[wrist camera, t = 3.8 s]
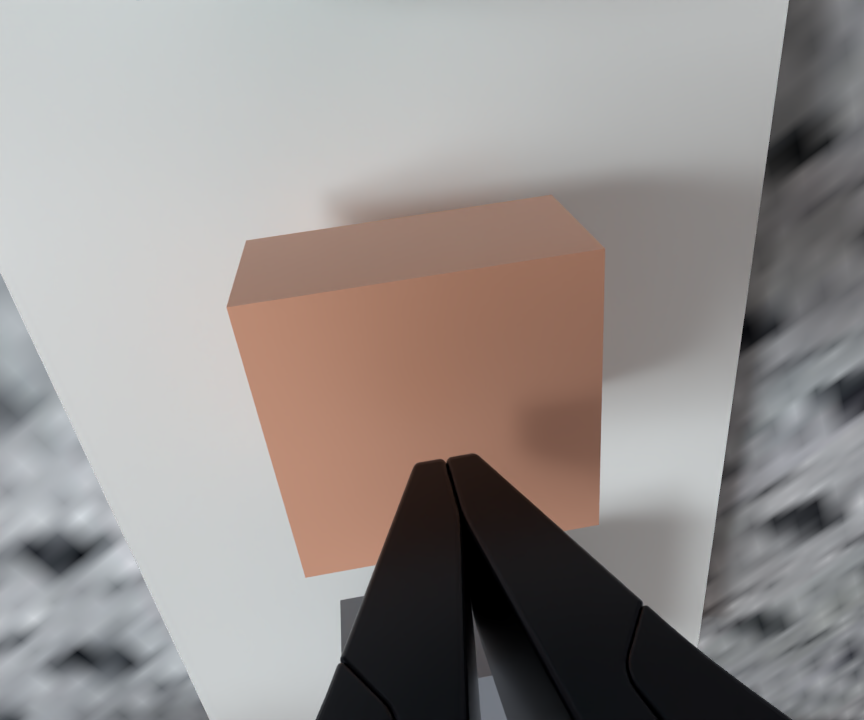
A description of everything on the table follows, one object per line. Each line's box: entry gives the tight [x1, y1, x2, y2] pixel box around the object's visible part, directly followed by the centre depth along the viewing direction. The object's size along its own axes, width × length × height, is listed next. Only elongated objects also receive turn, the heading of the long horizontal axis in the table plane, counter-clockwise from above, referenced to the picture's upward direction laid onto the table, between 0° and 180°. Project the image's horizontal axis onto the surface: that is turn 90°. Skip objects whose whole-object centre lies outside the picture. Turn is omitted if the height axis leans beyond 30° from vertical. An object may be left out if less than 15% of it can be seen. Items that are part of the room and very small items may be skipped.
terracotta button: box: [226, 195, 605, 578], centre depth 11 cm, size 5×5×2 cm
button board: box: [0, 0, 789, 720], centre depth 14 cm, size 26×14×2 cm, turn 6°
